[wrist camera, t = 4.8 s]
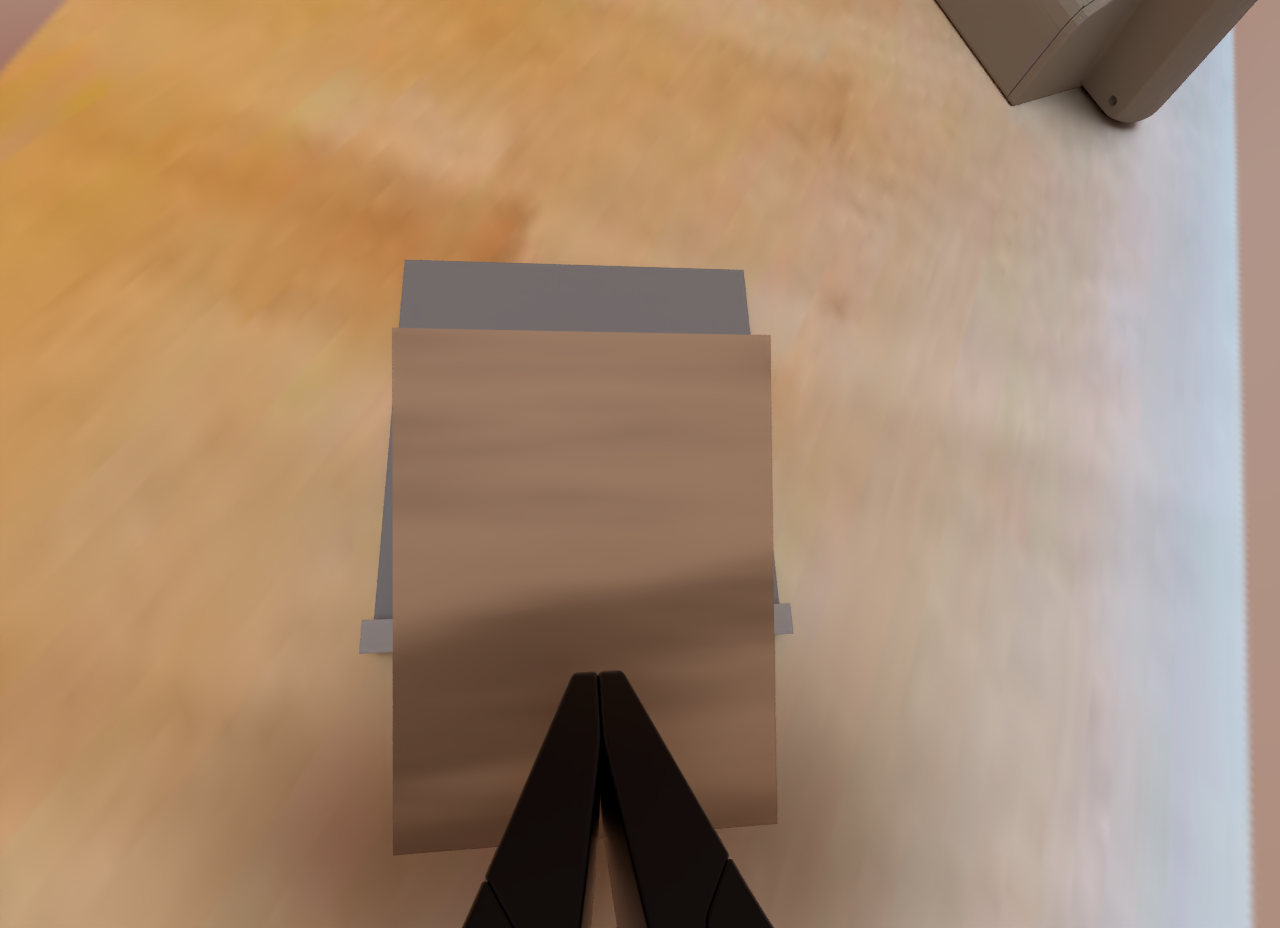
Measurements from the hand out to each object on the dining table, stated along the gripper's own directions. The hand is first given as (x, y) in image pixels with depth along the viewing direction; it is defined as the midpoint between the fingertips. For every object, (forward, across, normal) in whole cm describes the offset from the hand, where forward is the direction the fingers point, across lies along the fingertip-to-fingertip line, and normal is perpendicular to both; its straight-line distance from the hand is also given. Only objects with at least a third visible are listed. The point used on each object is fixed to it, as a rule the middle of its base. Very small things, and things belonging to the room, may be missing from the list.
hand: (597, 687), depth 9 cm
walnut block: (+3, 0, +8) cm, 8 cm away
